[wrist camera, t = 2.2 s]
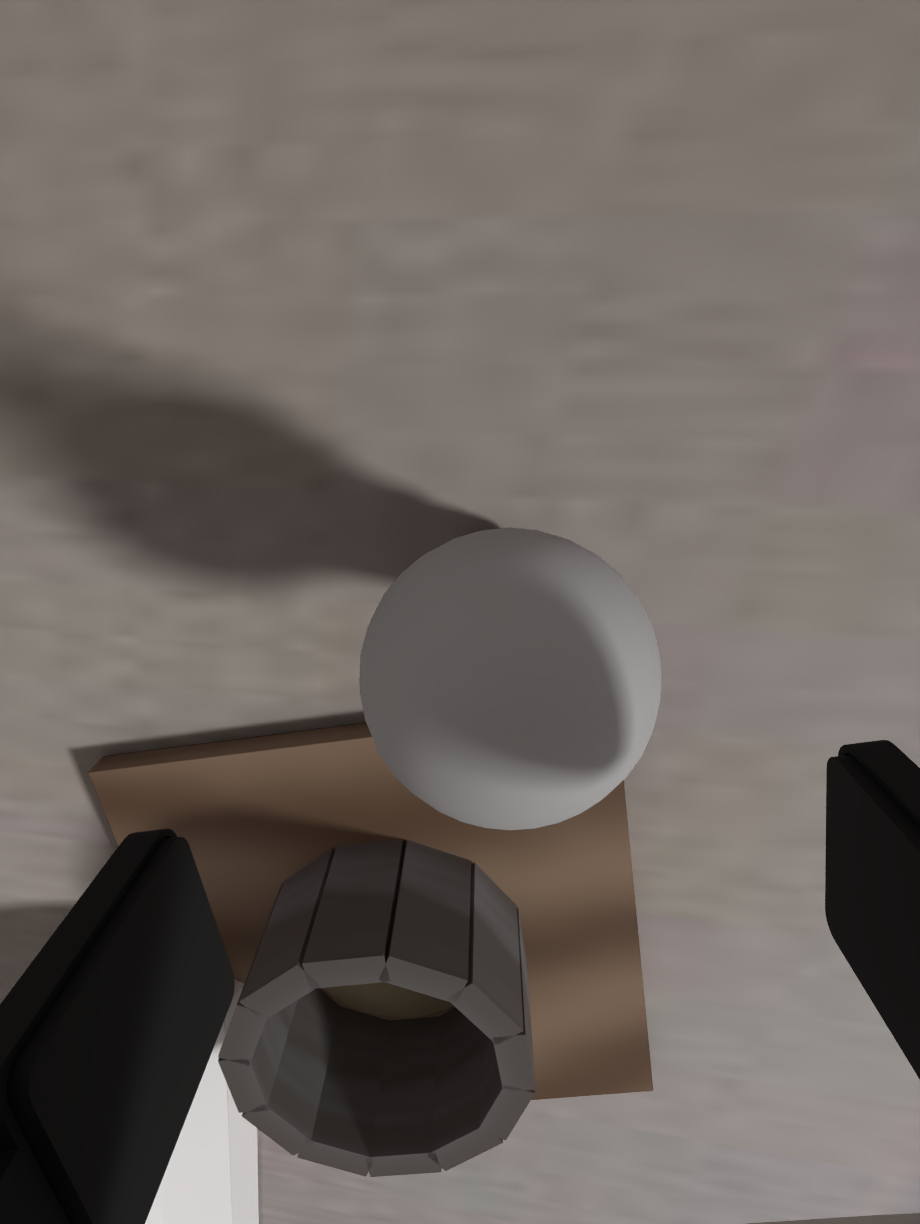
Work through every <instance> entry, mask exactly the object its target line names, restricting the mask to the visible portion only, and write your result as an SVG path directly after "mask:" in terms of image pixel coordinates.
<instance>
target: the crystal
mask: <svg viewBox="0 0 920 1224" xmlns="http://www.w3.org/2000/svg"><path fill="white" fill-rule="evenodd" d="M234 981H235V985H234V994H233V999H232V1002H231V1004H230V1007H229V1010H228V1012H227V1015H226V1017H225V1022H223V1025H222V1028H221V1030H220V1033H219V1035H218V1038H217V1040H216V1043H215V1046H214V1048H213V1051H212V1053H211V1056H210V1058H209V1061H208V1063H207V1066H206V1069H205V1071H204V1074H203V1076H202V1079H201V1081H200V1084H199V1087H198V1089H197V1092H196V1094H195V1097H194V1099H193V1102H192V1104H191V1107H190V1110H189V1112H188V1115H187V1117H186V1120H185V1122H184V1125H183V1128H182V1130H181V1133H180V1135H179V1138H178V1140H177V1143H176V1146H175V1148H174V1151H173V1153H172V1156H171V1158H170V1161H169V1163H168V1166H167V1169H166V1171H165V1174H164V1176H163V1179H162V1181H161V1184H160V1187H159V1189H158V1192H157V1194H156V1197H155V1199H154V1202H153V1204H152V1207H151V1210H150V1212H149V1215H148V1217H147V1220H146V1222H145V1224H259V1217H258V1157H257V1128H256V1127H255V1126H254V1125H253V1124H251V1123H250V1122H248V1121H247V1120H246V1119H245V1118H243V1117H242V1113H239V1112H238V1109H237V1107H236V1105H235V1102H234V1100H233V1097H232V1095H231V1092H230V1090H229V1087H228V1085H227V1082H226V1080H225V1077H224V1075H223V1072H222V1070H221V1068H220V1065H219V1063H218V1059H219V1057H218V1055H219V1052H220V1049H221V1047H222V1044H223V1041H224V1038H225V1035H226V1033H227V1030H228V1027H229V1024H230V1022H231V1019H232V1016H233V1013H234V1010H235V1008H236V1005H237V1002H238V1000H239V997H240V994H241V992H242V989H243V986H244V983H242V982H240V981H237V980H235V979H234ZM227 1093H228V1099H227ZM228 1120H229V1124H228ZM229 1146H230V1150H229ZM230 1172H231V1176H230ZM231 1198H232V1201H231Z"/></svg>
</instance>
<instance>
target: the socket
mask: <svg viewBox="0 0 920 1224" xmlns="http://www.w3.org/2000/svg"><path fill="white" fill-rule="evenodd" d="M88 774H89V776H90V778H91V781H92V783H93V786H94V788H95V791H96V793H97V795H98V798H99V800H100V803H101V805H102V808H103V810H104V812H105V815H106V817H107V820H108V822H109V824H110V827H111V829H112V832H113V834H114V837H115V839H116V841H117V844H118V846H119V845H120V844H121V843H122V841H123V840H124V839H125V838H126V837H127V836H128V835H129V834H131V833H135V832H143V831H151V830H159V829H167V828H168V829H171V830H173V831H174V832H175V833H176V835H177V837H184V838H185V839H186V840H187V842H188V844H189V846H190V849H191V852H192V855H193V858H194V860H195V863H196V866H197V869H198V872H199V875H200V878H201V881H202V883H203V886H204V889H205V892H206V895H207V898H208V901H209V904H210V907H211V909H212V912H213V915H214V918H215V921H216V924H217V927H218V930H219V932H220V935H221V938H222V941H223V944H224V947H225V950H226V953H227V955H228V958H229V961H230V964H231V967H232V970H233V974H234V979H235V980H237V981H240V982H242V983H244V986H243V989H242V992H241V994H240V997H239V1000H238V1002H237V1005H236V1008H235V1010H234V1013H233V1016H232V1019H231V1022H230V1024H229V1027H228V1030H227V1033H226V1035H225V1038H224V1041H223V1044H222V1047H221V1049H220V1052H219V1055H218V1057H219V1059H218V1063H219V1065H220V1068H221V1070H222V1072H223V1075H224V1077H225V1080H226V1082H227V1085H228V1087H229V1090H230V1092H231V1095H232V1097H233V1100H234V1102H235V1105H236V1107H237V1109H238V1112H239V1113H242V1117H243V1118H245V1119H246V1120H247V1121H248V1122H250V1123H251V1124H253V1125H254V1126H255V1127H256V1128H258V1129H259V1130H260V1131H262V1132H263V1133H264V1134H266V1135H267V1136H268V1137H270V1138H271V1139H272V1140H274V1141H275V1142H276V1143H278V1144H279V1145H280V1146H281V1147H283V1148H284V1149H285V1150H287V1151H288V1152H289V1153H291V1154H292V1155H295V1154H297V1153H298V1152H299V1153H298V1158H301V1159H305V1160H308V1161H312V1162H316V1163H319V1164H323V1165H327V1166H330V1167H334V1168H337V1169H341V1170H345V1171H348V1172H352V1173H355V1174H359V1175H363V1176H366V1175H367V1173H368V1171H369V1173H370V1176H371V1177H376V1176H391V1175H406V1174H420V1173H435V1172H441V1167H442V1168H443V1169H444V1170H445V1171H447V1170H449V1169H451V1168H453V1167H455V1166H457V1165H459V1164H461V1163H463V1162H465V1161H467V1160H469V1159H471V1158H473V1157H475V1156H477V1155H479V1154H481V1153H483V1152H485V1151H487V1150H489V1149H491V1148H493V1147H495V1146H497V1145H499V1144H501V1143H503V1139H504V1140H506V1139H507V1137H508V1136H509V1134H510V1133H511V1131H512V1129H513V1128H514V1126H515V1124H516V1123H517V1121H518V1120H519V1118H520V1116H521V1115H522V1113H523V1112H524V1110H525V1108H526V1107H527V1105H528V1104H529V1102H530V1100H537V1099H550V1098H563V1097H576V1096H589V1095H602V1094H615V1093H628V1092H641V1091H653V1084H652V1073H651V1063H650V1052H649V1042H648V1031H647V1021H646V1010H645V1000H644V989H643V979H642V968H641V958H640V947H639V937H638V926H637V916H636V905H635V895H634V884H633V874H632V864H631V853H630V843H629V832H628V822H627V811H626V801H625V790H624V780H623V781H622V782H621V783H620V784H619V785H618V786H617V787H615V788H614V789H613V790H612V791H611V792H610V793H609V794H608V795H607V796H606V797H605V798H603V799H602V800H601V801H600V802H598V803H596V804H595V805H593V806H592V807H590V808H589V809H587V810H585V811H584V812H582V813H581V814H578V815H576V816H574V817H571V818H569V819H567V820H564V821H562V822H559V823H556V824H552V825H548V826H543V827H539V828H535V829H522V830H501V829H490V828H483V827H479V826H475V825H471V824H468V823H464V822H461V821H458V820H456V819H454V818H452V817H449V816H447V815H445V814H443V813H441V812H439V811H437V810H436V809H434V808H433V807H431V806H430V805H428V804H427V803H426V802H424V801H423V800H421V799H420V798H418V797H417V796H415V795H414V794H413V793H411V792H410V791H409V790H408V789H407V788H406V787H405V786H404V785H403V784H402V783H401V782H400V781H399V780H398V779H397V778H396V777H395V776H394V775H393V773H392V772H391V770H390V769H389V767H388V766H387V764H386V763H385V762H384V760H383V759H382V757H381V756H380V754H379V752H378V749H377V747H376V745H375V742H374V740H373V738H372V735H371V733H370V730H369V728H368V725H367V723H362V724H355V725H347V726H339V727H331V728H323V729H315V730H308V731H300V732H292V733H284V734H276V735H268V736H261V737H253V738H245V739H237V740H229V741H221V742H214V743H206V744H198V745H190V746H182V747H175V748H167V749H159V750H151V751H143V752H135V753H128V754H120V755H112V756H104V757H102V758H101V759H100V760H99V761H98V763H97V764H96V765H95V766H94V767H93V768H92V769H91V770H90V771H89V772H88ZM224 1022H225V1020H224ZM227 1099H228V1093H227Z"/></svg>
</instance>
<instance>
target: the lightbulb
mask: <svg viewBox="0 0 920 1224" xmlns="http://www.w3.org/2000/svg"><path fill="white" fill-rule="evenodd" d="M360 695H361V700H362V706H363V711H364V717H365V721H366V723H367V725H368V728H369V730H370V733H371V735H372V738H373V740H374V742H375V745H376V747H377V749H378V752H379V754H380V756H381V757H382V759H383V760H384V762H385V763H386V764H387V766H388V767H389V769H390V770H391V772H392V773H393V775H394V776H395V777H396V778H397V779H398V780H399V781H400V782H401V783H402V784H403V785H404V786H405V787H406V788H407V789H408V790H409V791H410V792H411V793H413V794H414V795H415V796H417V797H418V798H420V799H421V800H423V801H424V802H426V803H427V804H428V805H430V806H431V807H433V808H434V809H436V810H437V811H439V812H441V813H443V814H445V815H447V816H449V817H452V818H454V819H456V820H458V821H461V822H464V823H468V824H471V825H475V826H479V827H483V828H490V829H501V830H522V829H535V828H539V827H543V826H548V825H552V824H556V823H559V822H562V821H564V820H567V819H569V818H571V817H574V816H576V815H578V814H581V813H582V812H584V811H585V810H587V809H589V808H590V807H592V806H593V805H595V804H596V803H598V802H600V801H601V800H602V799H603V798H605V797H606V796H607V795H608V794H609V793H610V792H611V791H612V790H613V789H614V788H615V787H617V786H618V785H619V784H620V783H621V782H622V781H623V780H624V779H625V778H626V777H627V776H628V774H629V773H630V772H631V770H632V769H633V768H634V766H635V765H636V763H637V762H638V761H639V759H640V758H641V757H642V754H643V752H644V750H645V748H646V746H647V743H648V741H649V739H650V737H651V734H652V732H653V728H654V725H655V722H656V717H657V712H658V708H659V703H660V698H661V663H660V654H659V649H658V645H657V641H656V637H655V633H654V629H653V627H652V625H651V623H650V621H649V619H648V616H647V614H646V612H645V610H644V608H643V606H642V604H641V602H640V601H639V599H638V597H637V596H636V594H635V593H634V592H633V590H632V589H631V588H630V587H629V585H628V584H627V583H626V582H625V580H624V579H623V578H622V577H621V575H620V574H619V573H618V572H617V571H616V570H615V569H613V568H612V567H611V566H610V565H609V564H607V563H606V562H605V561H604V560H602V559H601V558H600V557H599V556H598V555H596V554H595V553H593V552H591V551H589V550H587V549H585V548H583V547H581V546H580V545H578V544H576V543H574V542H572V541H570V540H567V539H564V538H561V537H558V536H555V535H551V534H548V533H544V532H541V531H537V530H529V529H518V528H500V529H490V530H481V531H477V532H474V533H471V534H467V535H464V536H461V537H457V538H454V539H452V540H450V541H448V542H447V543H445V544H443V545H441V546H439V547H437V548H435V549H433V550H431V551H430V552H428V553H426V554H424V555H423V556H421V557H420V558H419V559H418V560H416V561H415V562H414V563H413V564H412V565H410V566H409V567H408V568H407V569H405V570H404V571H403V572H402V573H401V574H400V575H399V576H398V578H397V579H396V580H395V581H394V583H393V584H392V585H391V586H390V587H389V589H388V590H387V591H386V592H385V594H384V595H383V597H382V599H381V601H380V603H379V605H378V607H377V609H376V611H375V613H374V615H373V617H372V619H371V621H370V624H369V626H368V628H367V632H366V636H365V640H364V643H363V647H362V651H361V656H360Z"/></svg>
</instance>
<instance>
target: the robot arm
mask: <svg viewBox="0 0 920 1224" xmlns="http://www.w3.org/2000/svg"><path fill="white" fill-rule="evenodd" d="M825 911H826V918H827V922H828V926H829V929H830V931H831V934H832V936H833V938H834V940H835V941H836V943H837V945H838V946H839V948H840V950H841V951H842V953H843V955H844V956H845V958H846V959H847V961H848V963H849V964H850V966H851V968H852V969H853V971H854V973H855V974H856V976H857V977H858V979H859V981H860V982H861V984H862V986H863V987H864V989H865V991H866V992H867V994H868V995H869V997H870V999H871V1000H872V1002H873V1004H874V1005H875V1007H876V1009H877V1010H878V1012H879V1013H880V1015H881V1017H882V1018H883V1020H884V1022H885V1023H886V1025H887V1027H888V1028H889V1030H890V1031H891V1033H892V1035H893V1036H894V1038H895V1040H896V1041H897V1043H898V1045H899V1046H900V1048H901V1049H902V1051H903V1053H904V1054H905V1056H906V1058H907V1059H908V1061H909V1062H910V1064H911V1066H912V1067H913V1069H914V1071H915V1072H916V1074H917V1076H918V1077H919V1079H920V768H919V767H918V766H917V765H916V764H915V763H914V762H912V761H911V760H910V759H909V758H908V757H907V756H906V755H905V754H904V753H903V752H902V751H901V750H900V749H898V748H897V747H896V746H895V745H894V744H893V743H891V742H890V741H887V740H880V741H872V742H864V743H856V744H848V745H843V746H842V747H841V748H840V750H839V753H838V756H837V757H831V758H830V759H829V760H828V762H827V793H826V890H825ZM234 985H235V981H234V974H233V970H232V967H231V964H230V961H229V958H228V955H227V953H226V950H225V947H224V944H223V941H222V938H221V935H220V932H219V930H218V927H217V924H216V921H215V918H214V915H213V912H212V909H211V907H210V904H209V901H208V898H207V895H206V892H205V889H204V886H203V883H202V881H201V878H200V875H199V872H198V869H197V866H196V863H195V860H194V858H193V855H192V852H191V849H190V846H189V844H188V842H187V840H186V839H185V838H184V837H177V835H176V833H175V832H174V831H173V830H171V829H168V828H167V829H159V830H151V831H143V832H135V833H131V834H129V835H128V836H127V837H126V838H125V839H124V840H123V841H122V843H121V844H120V845H119V847H118V848H117V849H116V851H115V852H114V853H113V855H112V856H111V857H110V859H109V860H108V861H107V863H106V864H105V865H104V867H103V868H102V869H101V871H100V872H99V873H98V875H97V876H96V877H95V879H94V880H93V881H92V883H91V884H90V885H89V887H88V888H87V889H86V891H85V892H84V893H83V895H82V896H81V897H80V899H79V900H78V901H77V903H76V904H75V905H74V907H73V908H72V909H71V911H70V912H69V913H68V915H67V916H66V917H65V919H64V920H63V921H62V923H61V924H60V925H59V927H58V928H57V929H56V931H55V932H54V933H53V935H52V936H51V937H50V939H49V940H48V941H47V943H46V944H45V946H44V947H43V948H42V950H41V951H40V952H39V954H38V955H37V956H36V958H35V959H34V960H33V962H32V963H31V964H30V966H29V967H28V968H27V970H26V971H25V972H24V974H23V975H22V976H21V978H20V979H19V980H18V982H17V983H16V984H15V986H14V987H13V988H12V990H11V991H10V992H9V994H8V995H7V996H6V998H5V999H4V1000H3V1002H2V1003H1V1004H0V1224H145V1222H146V1220H147V1217H148V1215H149V1212H150V1210H151V1207H152V1204H153V1202H154V1199H155V1197H156V1194H157V1192H158V1189H159V1187H160V1184H161V1181H162V1179H163V1176H164V1174H165V1171H166V1169H167V1166H168V1163H169V1161H170V1158H171V1156H172V1153H173V1151H174V1148H175V1146H176V1143H177V1140H178V1138H179V1135H180V1133H181V1130H182V1128H183V1125H184V1122H185V1120H186V1117H187V1115H188V1112H189V1110H190V1107H191V1104H192V1102H193V1099H194V1097H195V1094H196V1092H197V1089H198V1087H199V1084H200V1081H201V1079H202V1076H203V1074H204V1071H205V1069H206V1066H207V1063H208V1061H209V1058H210V1056H211V1053H212V1051H213V1048H214V1046H215V1043H216V1040H217V1038H218V1035H219V1033H220V1030H221V1028H222V1025H223V1022H224V1020H225V1017H226V1015H227V1012H228V1010H229V1007H230V1004H231V1002H232V999H233V994H234ZM749 1224H920V1213H913V1214H891V1215H872V1216H857V1217H841V1218H826V1219H811V1220H795V1221H780V1222H765V1223H749Z"/></svg>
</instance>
